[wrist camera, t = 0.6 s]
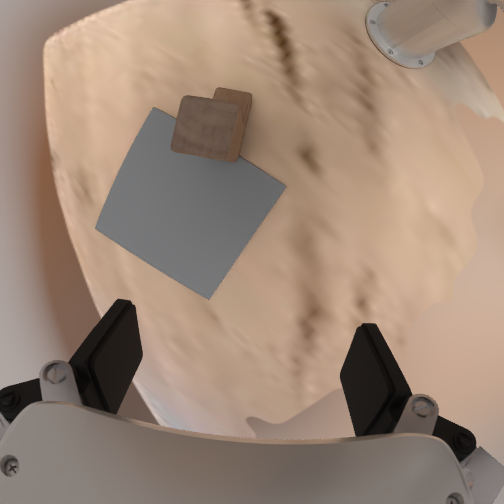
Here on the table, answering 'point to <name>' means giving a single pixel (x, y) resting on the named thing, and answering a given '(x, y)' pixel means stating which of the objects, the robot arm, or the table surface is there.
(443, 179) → the table surface
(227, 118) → the wooden block
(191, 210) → the mat
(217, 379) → the table surface
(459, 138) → the table surface
